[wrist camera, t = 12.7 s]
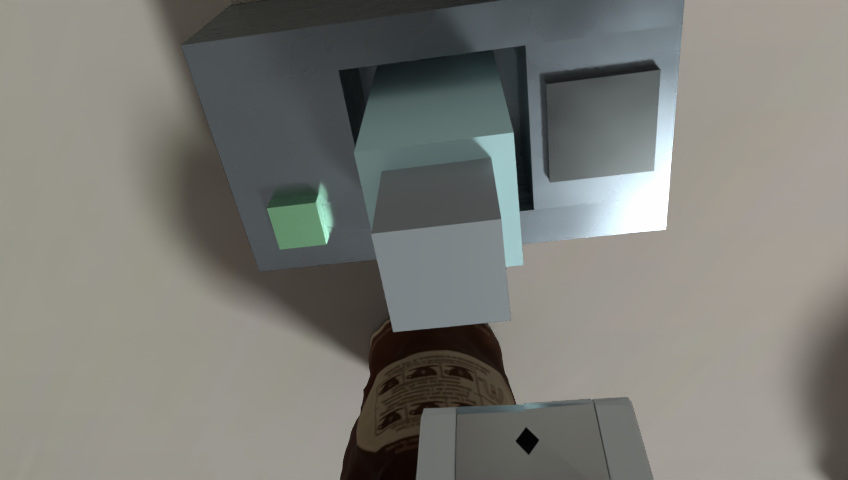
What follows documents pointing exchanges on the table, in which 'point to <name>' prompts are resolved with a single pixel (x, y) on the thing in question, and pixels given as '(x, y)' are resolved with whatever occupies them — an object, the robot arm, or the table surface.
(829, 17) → the table surface
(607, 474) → the robot arm
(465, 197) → the plug
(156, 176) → the table surface
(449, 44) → the grey block with recess
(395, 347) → the coffee cup
